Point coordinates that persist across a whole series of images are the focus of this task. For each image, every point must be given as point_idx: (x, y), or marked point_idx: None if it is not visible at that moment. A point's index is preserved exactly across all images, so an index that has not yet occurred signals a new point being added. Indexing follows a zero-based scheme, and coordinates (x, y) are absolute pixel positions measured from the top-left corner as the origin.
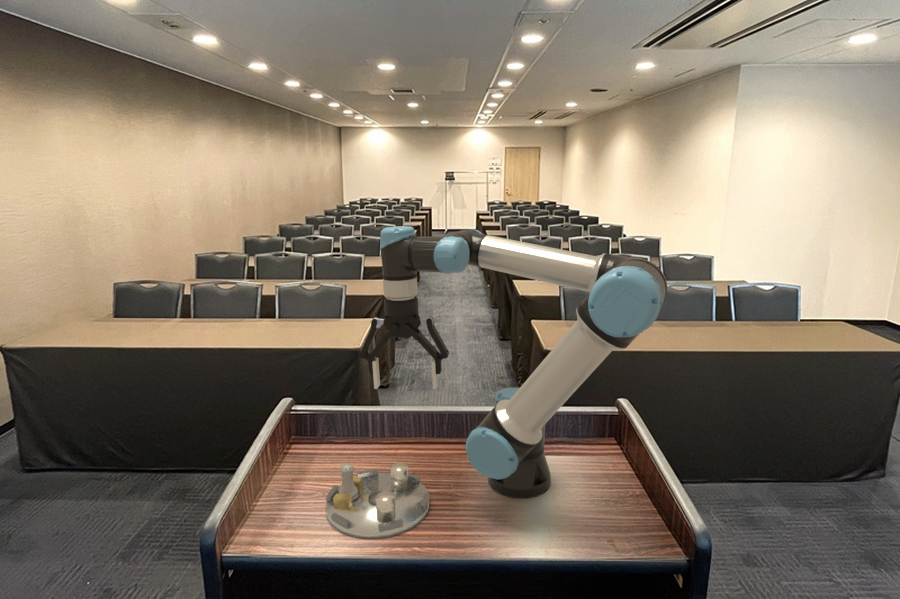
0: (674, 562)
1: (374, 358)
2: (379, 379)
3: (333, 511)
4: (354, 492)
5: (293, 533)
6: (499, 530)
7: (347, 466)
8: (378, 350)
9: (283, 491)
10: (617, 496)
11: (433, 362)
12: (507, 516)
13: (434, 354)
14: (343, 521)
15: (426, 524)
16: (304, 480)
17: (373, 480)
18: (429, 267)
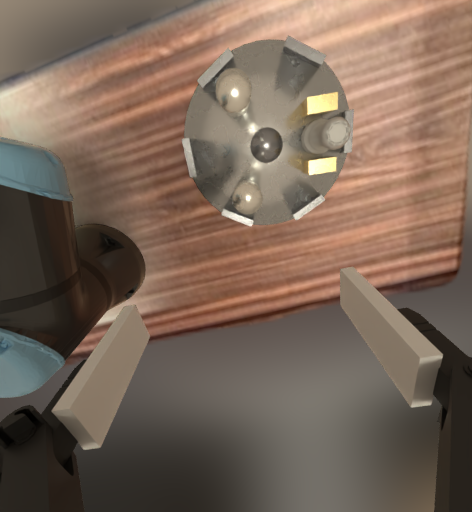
0: None
1: (436, 396)
2: (350, 315)
3: (328, 86)
4: (307, 131)
5: (379, 15)
6: (75, 141)
7: (336, 134)
8: (464, 457)
9: (435, 136)
10: None
11: (62, 406)
12: (80, 178)
13: (17, 468)
14: (296, 41)
15: (176, 121)
16: (407, 178)
17: (293, 197)
18: None
